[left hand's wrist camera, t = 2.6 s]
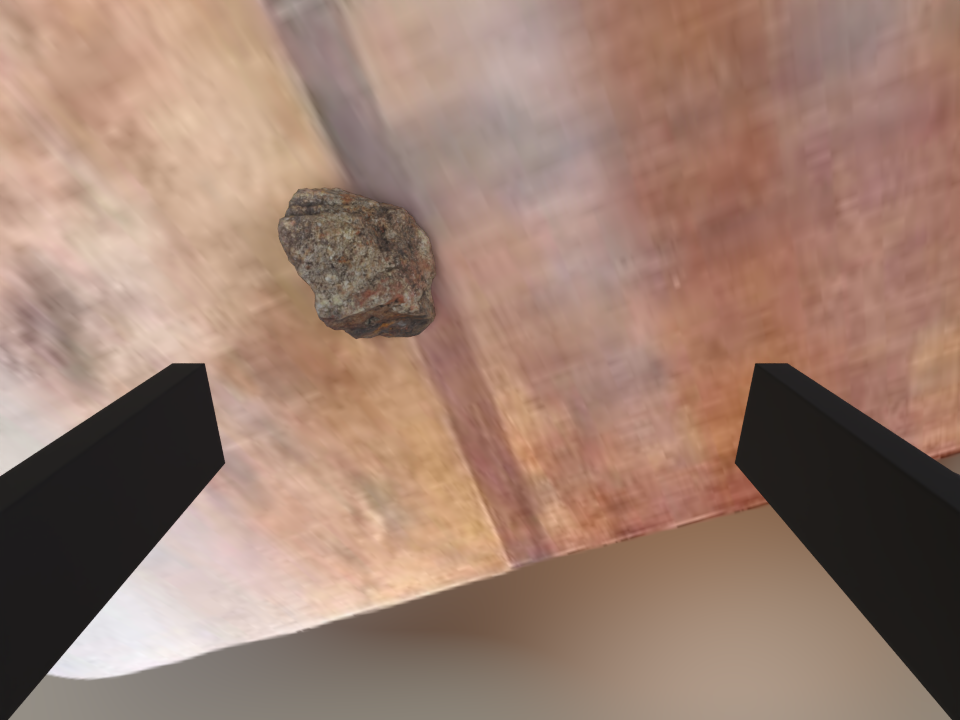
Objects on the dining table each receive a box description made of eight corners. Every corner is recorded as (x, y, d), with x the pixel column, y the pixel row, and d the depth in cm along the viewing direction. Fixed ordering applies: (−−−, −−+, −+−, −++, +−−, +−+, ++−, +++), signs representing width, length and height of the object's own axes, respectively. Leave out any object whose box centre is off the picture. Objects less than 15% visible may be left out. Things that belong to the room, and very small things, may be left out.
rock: (349, 342, 49) (451, 323, 49) (326, 385, 42) (447, 363, 41) (297, 186, 43) (413, 162, 42) (259, 202, 35) (400, 173, 35)
